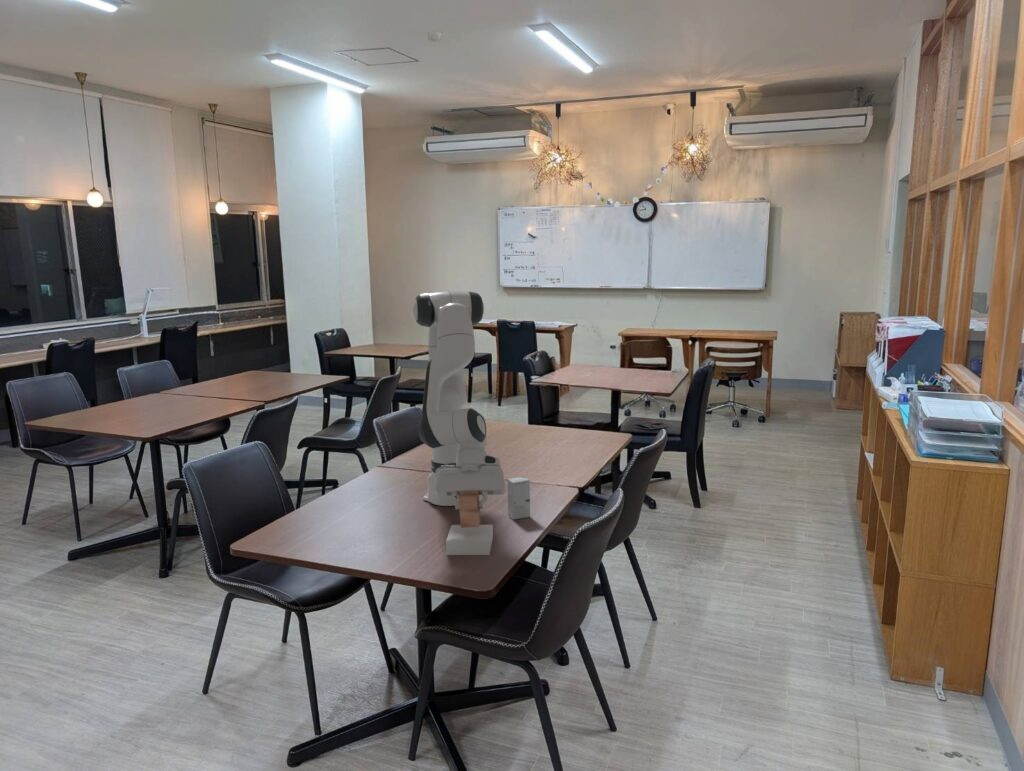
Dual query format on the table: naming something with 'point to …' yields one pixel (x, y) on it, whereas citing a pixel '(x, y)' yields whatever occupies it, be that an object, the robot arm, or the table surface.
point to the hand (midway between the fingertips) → (469, 508)
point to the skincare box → (518, 498)
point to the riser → (469, 540)
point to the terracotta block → (469, 509)
